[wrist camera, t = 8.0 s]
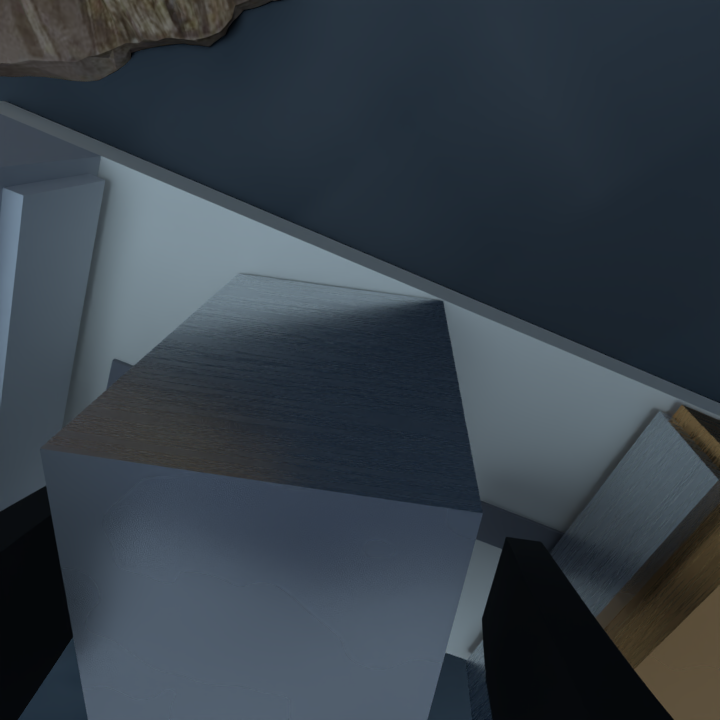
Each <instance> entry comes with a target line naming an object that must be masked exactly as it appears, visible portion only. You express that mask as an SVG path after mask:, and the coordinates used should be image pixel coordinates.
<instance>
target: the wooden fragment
mask: <svg viewBox="0 0 720 720" xmlns="http://www.w3.org/2000/svg"><path fill="white" fill-rule="evenodd" d="M270 1H279V0H0V76H8V77H22V76H38V77H50V78H58V79H64V80H71V81H96V80H100V79H102V78H104V77H106V76H108V75H109V74H111V73H113V72H115V71H117V70H118V69H120V68H121V67H122V66H124V65H125V64H126V63H127V62H128V61H129V60H130V59H131V53H132V52H136V51H139V50H143V49H147V48H152V47H158V46H163V45H171V44H181V43H185V44H189V45H201V46H208V47H209V46H211V45H212V44H213V43H214V42H215V41H217V40H218V39H220V38H221V37H223V36H224V35H226V32H227V30H228V27H229V26H230V25H231V23H232V22H233V21H234V20H235V19H236V18H237V17H238V16H239V15H240V14H241V13H242V11H243V10H246V9H251V8H255V7H258V6H261V5H263V4H266V3H268V2H270Z"/></svg>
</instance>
